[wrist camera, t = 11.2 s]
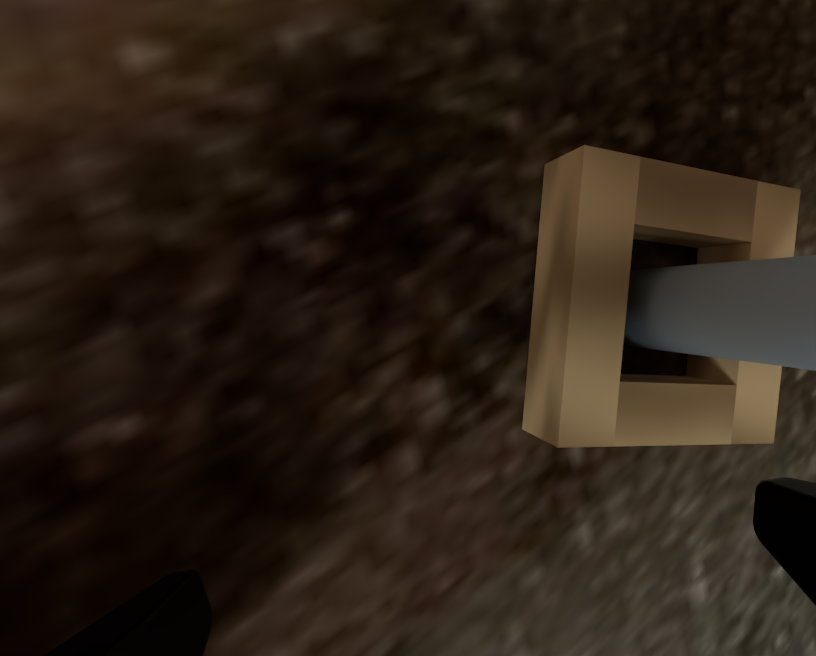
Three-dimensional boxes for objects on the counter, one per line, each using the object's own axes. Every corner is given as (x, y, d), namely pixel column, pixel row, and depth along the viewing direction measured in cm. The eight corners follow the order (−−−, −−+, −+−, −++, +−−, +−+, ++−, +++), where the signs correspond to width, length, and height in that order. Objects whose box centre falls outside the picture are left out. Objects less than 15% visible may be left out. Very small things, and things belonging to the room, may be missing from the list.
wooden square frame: (720, 428, 23) (773, 443, 20) (522, 429, 20) (557, 447, 17) (743, 201, 22) (800, 189, 20) (544, 164, 19) (584, 145, 17)
